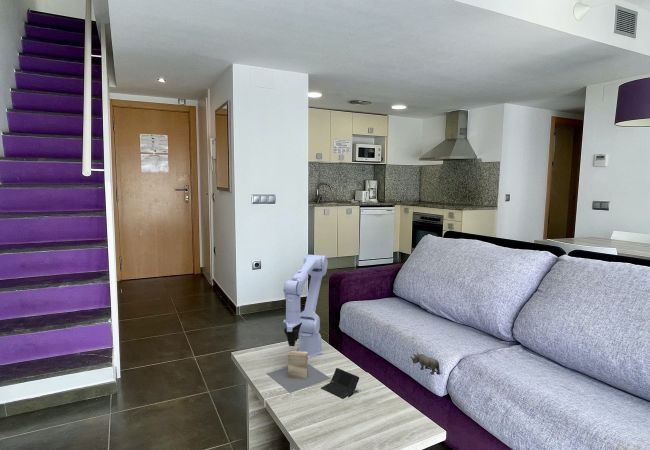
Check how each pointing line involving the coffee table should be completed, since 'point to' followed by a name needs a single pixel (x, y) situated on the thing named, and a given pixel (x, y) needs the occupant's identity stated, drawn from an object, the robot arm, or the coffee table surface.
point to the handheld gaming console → (342, 384)
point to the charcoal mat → (297, 379)
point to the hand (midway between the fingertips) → (293, 343)
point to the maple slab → (297, 364)
